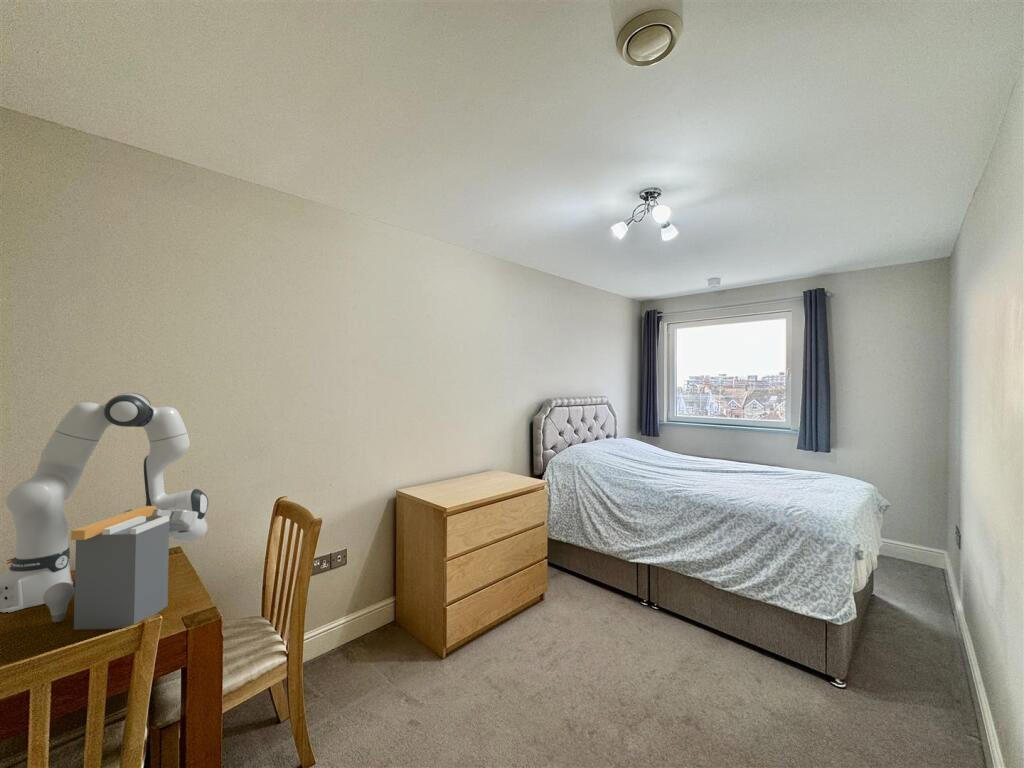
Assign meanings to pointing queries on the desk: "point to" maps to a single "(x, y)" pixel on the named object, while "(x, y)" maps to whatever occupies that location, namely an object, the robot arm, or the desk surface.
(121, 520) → the orange flat bar
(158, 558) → the block
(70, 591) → the lightbulb
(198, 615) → the desk surface
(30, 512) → the robot arm
